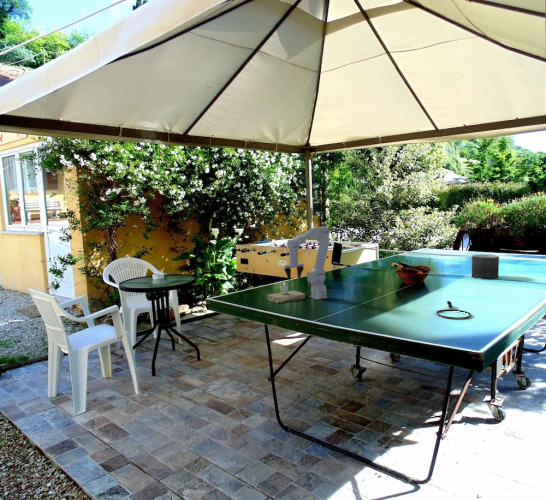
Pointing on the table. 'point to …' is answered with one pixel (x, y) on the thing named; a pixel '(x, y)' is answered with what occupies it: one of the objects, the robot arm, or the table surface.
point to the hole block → (285, 296)
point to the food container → (308, 279)
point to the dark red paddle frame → (452, 310)
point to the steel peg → (285, 288)
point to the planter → (485, 266)
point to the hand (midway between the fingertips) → (294, 278)
